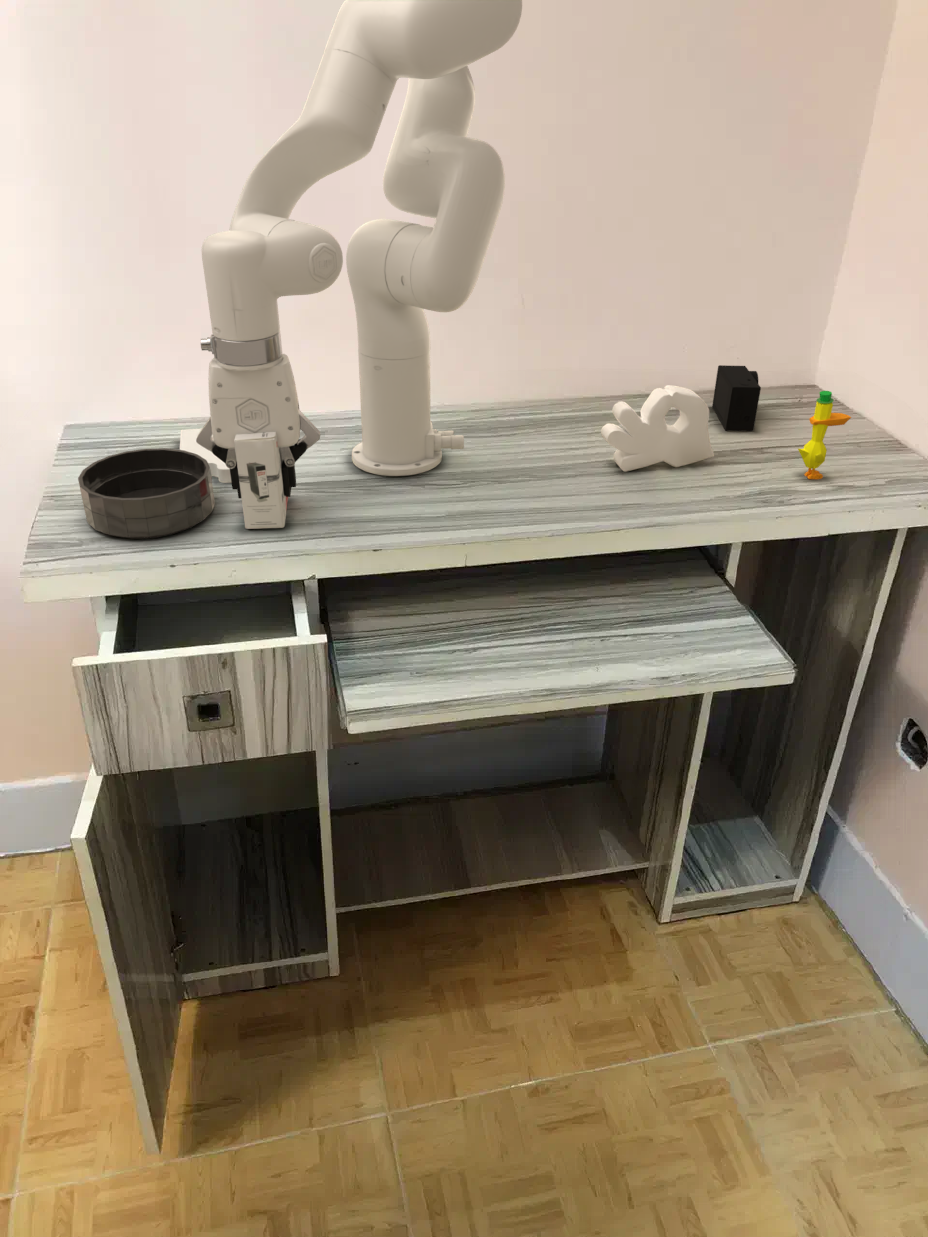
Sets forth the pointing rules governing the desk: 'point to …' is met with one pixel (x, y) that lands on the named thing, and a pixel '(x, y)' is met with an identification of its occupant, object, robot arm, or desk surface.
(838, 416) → the toy figure
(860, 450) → the desk surface
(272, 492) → the ink box
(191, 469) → the bowl
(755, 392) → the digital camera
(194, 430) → the mounting plate
